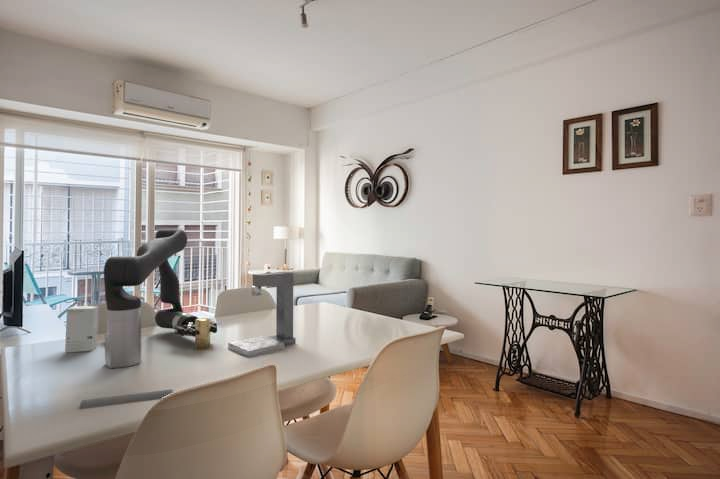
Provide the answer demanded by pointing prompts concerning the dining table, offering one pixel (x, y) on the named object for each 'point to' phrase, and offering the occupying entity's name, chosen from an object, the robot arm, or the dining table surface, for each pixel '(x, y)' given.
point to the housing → (202, 333)
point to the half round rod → (124, 399)
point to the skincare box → (81, 328)
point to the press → (282, 316)
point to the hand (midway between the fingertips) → (205, 331)
